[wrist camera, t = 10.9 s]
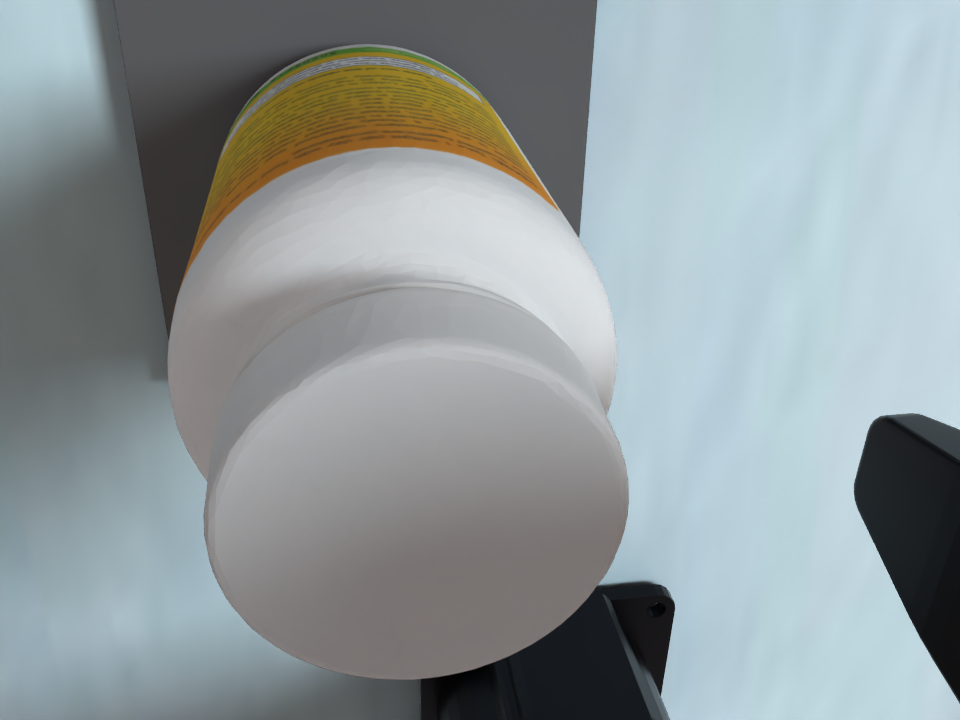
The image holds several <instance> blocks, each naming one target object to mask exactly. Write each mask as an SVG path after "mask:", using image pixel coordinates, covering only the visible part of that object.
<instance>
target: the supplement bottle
mask: <svg viewBox="0 0 960 720" xmlns="http://www.w3.org/2000/svg"><path fill="white" fill-rule="evenodd" d="M616 367H617V344H616V332H615V326H614V321H613V316H612V312H611V308H610V305H609V301H608V298H607V294H606V291H605V288H604V285H603V283H602V281H601V279H600V276H599V274H598V272H597V269H596V267H595V265H594V264H593V262H592V260H591V258H590V256H589V254H588V253H587V251H586V249H585V247H584V245H583V244H582V242H581V241H580V239H579V238H578V236H577V235H576V233H575V231H574V230H573V228H572V227H571V225H570V224H569V222H568V221H567V219H566V218H565V216H564V215H563V213H562V212H561V210H560V209H559V207H558V206H557V204H556V203H555V201H554V200H553V198H552V197H551V195H550V194H549V192H548V191H547V189H546V187H545V186H544V184H543V183H542V181H541V180H540V178H539V177H538V175H537V174H536V172H535V171H534V169H533V168H532V166H531V164H530V163H529V161H528V160H527V158H526V157H525V155H524V154H523V152H522V151H521V149H520V148H519V146H518V144H517V143H516V141H515V140H514V138H513V137H512V135H511V133H510V132H509V130H508V129H507V128H506V126H505V125H504V123H503V122H502V120H501V118H500V117H499V116H498V114H497V113H496V112H495V110H494V109H493V108H492V106H491V105H490V104H489V103H488V101H487V100H486V99H485V98H484V97H483V96H482V94H481V93H480V92H479V91H478V90H477V89H476V88H475V87H474V86H472V85H471V84H470V83H469V82H468V81H467V80H466V79H464V78H463V77H462V76H460V75H459V74H458V73H456V72H455V71H453V70H452V69H450V68H449V67H447V66H445V65H443V64H442V63H440V62H438V61H436V60H434V59H432V58H430V57H427V56H425V55H422V54H419V53H417V52H414V51H411V50H407V49H404V48H399V47H395V46H388V45H378V44H355V45H348V46H341V47H336V48H331V49H327V50H324V51H320V52H318V53H315V54H312V55H309V56H307V57H305V58H302V59H300V60H298V61H296V62H294V63H293V64H291V65H289V66H287V67H285V68H284V69H282V70H281V71H279V72H278V73H276V74H275V75H274V76H273V77H271V78H270V79H269V80H268V81H267V82H265V83H264V84H263V85H262V86H261V87H260V88H259V89H258V90H257V91H256V92H255V93H254V95H253V96H252V97H251V98H250V99H249V100H248V102H247V103H246V104H245V106H244V108H243V109H242V111H241V112H240V114H239V115H238V117H237V118H236V120H235V122H234V124H233V126H232V127H231V129H230V132H229V134H228V136H227V139H226V141H225V144H224V146H223V149H222V152H221V155H220V157H219V161H218V165H217V169H216V172H215V176H214V179H213V183H212V186H211V190H210V193H209V196H208V199H207V203H206V206H205V210H204V213H203V216H202V220H201V223H200V226H199V230H198V233H197V236H196V240H195V243H194V247H193V250H192V253H191V256H190V259H189V262H188V265H187V268H186V271H185V274H184V278H183V281H182V284H181V287H180V290H179V293H178V296H177V300H176V305H175V309H174V313H173V320H172V325H171V331H170V338H169V347H168V383H169V391H170V398H171V404H172V408H173V412H174V416H175V420H176V423H177V427H178V430H179V432H180V435H181V437H182V439H183V442H184V444H185V446H186V448H187V450H188V452H189V454H190V455H191V457H192V459H193V460H194V462H195V464H196V465H197V467H198V469H199V470H200V472H201V473H202V475H203V476H204V478H205V479H206V481H207V491H206V500H205V508H204V536H205V541H206V546H207V551H208V556H209V560H210V564H211V567H212V570H213V573H214V575H215V577H216V579H217V582H218V584H219V586H220V587H221V589H222V591H223V593H224V595H225V597H226V599H227V600H228V601H229V603H230V604H231V606H232V607H233V608H234V609H235V610H236V612H237V613H238V614H239V615H240V616H241V617H242V618H243V619H244V621H245V622H246V623H247V624H248V625H249V626H250V627H251V628H252V629H253V630H255V631H256V632H257V633H258V634H260V635H261V636H262V637H263V638H265V639H266V640H268V641H269V642H270V643H272V644H273V645H274V646H276V647H278V648H279V649H281V650H283V651H284V652H286V653H288V654H290V655H291V656H293V657H296V658H298V659H301V660H303V661H305V662H308V663H310V664H313V665H315V666H318V667H320V668H324V669H328V670H331V671H335V672H339V673H343V674H347V675H353V676H360V677H367V678H375V679H393V680H413V679H424V678H433V677H440V676H446V675H451V674H456V673H461V672H465V671H469V670H473V669H476V668H479V667H482V666H484V665H487V664H490V663H493V662H496V661H498V660H501V659H503V658H506V657H508V656H510V655H512V654H514V653H516V652H518V651H520V650H522V649H524V648H526V647H528V646H530V645H532V644H533V643H535V642H536V641H538V640H539V639H541V638H543V637H544V636H546V635H547V634H549V633H550V632H551V631H553V630H554V629H555V628H557V627H558V626H559V625H561V624H562V623H563V622H564V621H565V620H566V619H568V618H569V617H570V616H571V615H572V614H573V613H574V612H575V611H576V610H577V609H578V608H579V607H580V606H581V605H582V604H583V603H584V602H585V601H586V600H587V598H588V597H589V596H590V595H591V593H592V592H593V591H594V589H595V588H596V587H597V585H598V584H599V582H600V581H601V580H602V578H603V577H604V576H605V574H606V573H607V571H608V569H609V567H610V566H611V564H612V562H613V559H614V557H615V555H616V552H617V550H618V548H619V545H620V543H621V540H622V536H623V533H624V529H625V524H626V520H627V514H628V504H629V495H628V477H627V470H626V464H625V460H624V457H623V454H622V451H621V447H620V444H619V441H618V439H617V437H616V435H615V433H614V430H613V428H612V426H611V424H610V422H609V420H608V418H607V413H608V411H609V407H610V403H611V399H612V396H613V390H614V385H615V379H616Z"/></svg>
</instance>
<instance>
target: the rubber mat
mask: <svg viewBox="0 0 960 720" xmlns="http://www.w3.org/2000/svg"><path fill="white" fill-rule="evenodd" d="M114 4H115V11H116V17H117V23H118V29H119V36H120V42H121V48H122V54H123V60H124V67H125V73H126V79H127V85H128V91H129V98H130V104H131V110H132V116H133V123H134V129H135V135H136V141H137V147H138V154H139V160H140V166H141V172H142V178H143V185H144V191H145V197H146V203H147V210H148V216H149V222H150V228H151V234H152V241H153V247H154V253H155V259H156V265H157V272H158V278H159V284H160V290H161V297H162V303H163V309H164V315H165V321H166V328H167V334H168V340H169V338H170V331H171V325H172V320H173V313H174V309H175V305H176V300H177V296H178V293H179V290H180V287H181V284H182V281H183V278H184V274H185V271H186V268H187V265H188V262H189V259H190V256H191V253H192V250H193V247H194V243H195V240H196V236H197V233H198V230H199V226H200V223H201V220H202V216H203V213H204V210H205V206H206V203H207V199H208V196H209V193H210V190H211V186H212V183H213V179H214V176H215V172H216V169H217V165H218V161H219V157H220V155H221V152H222V149H223V146H224V144H225V141H226V139H227V136H228V134H229V132H230V129H231V127H232V126H233V124H234V122H235V120H236V118H237V117H238V115H239V114H240V112H241V111H242V109H243V108H244V106H245V104H246V103H247V102H248V100H249V99H250V98H251V97H252V96H253V95H254V93H255V92H256V91H257V90H258V89H259V88H260V87H261V86H262V85H263V84H264V83H265V82H267V81H268V80H269V79H270V78H271V77H273V76H274V75H275V74H276V73H278V72H279V71H281V70H282V69H284V68H285V67H287V66H289V65H291V64H293V63H294V62H296V61H298V60H300V59H302V58H305V57H307V56H309V55H312V54H315V53H318V52H320V51H324V50H327V49H331V48H336V47H341V46H348V45H355V44H378V45H388V46H395V47H399V48H404V49H407V50H411V51H414V52H417V53H419V54H422V55H425V56H427V57H430V58H432V59H434V60H436V61H438V62H440V63H442V64H443V65H445V66H447V67H449V68H450V69H452V70H453V71H455V72H456V73H458V74H459V75H460V76H462V77H463V78H464V79H466V80H467V81H468V82H469V83H470V84H471V85H472V86H474V87H475V88H476V89H477V90H478V91H479V92H480V93H481V94H482V96H483V97H484V98H485V99H486V100H487V101H488V103H489V104H490V105H491V106H492V108H493V109H494V110H495V112H496V113H497V114H498V116H499V117H500V118H501V120H502V122H503V123H504V125H505V126H506V128H507V129H508V130H509V132H510V133H511V135H512V137H513V138H514V140H515V141H516V143H517V144H518V146H519V148H520V149H521V151H522V152H523V154H524V155H525V157H526V158H527V160H528V161H529V163H530V164H531V166H532V168H533V169H534V171H535V172H536V174H537V175H538V177H539V178H540V180H541V181H542V183H543V184H544V186H545V187H546V189H547V191H548V192H549V194H550V195H551V197H552V198H553V200H554V201H555V203H556V204H557V206H558V207H559V209H560V210H561V212H562V213H563V215H564V216H565V218H566V219H567V221H568V222H569V224H570V225H571V227H572V228H573V230H574V231H575V233H576V235H577V236H578V238H579V234H580V220H581V207H582V194H583V181H584V168H585V154H586V141H587V128H588V115H589V102H590V88H591V75H592V62H593V49H594V35H595V22H596V9H597V0H114Z"/></svg>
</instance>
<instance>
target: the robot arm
mask: <svg viewBox="0 0 960 720" xmlns="http://www.w3.org/2000/svg"><path fill="white" fill-rule="evenodd" d="M854 497H855V502H856V505H857V508H858V511H859V513H860V515H861V517H862V519H863V521H864V523H865V525H866V527H867V529H868V531H869V534H870V536H871V538H872V540H873V542H874V544H875V546H876V548H877V550H878V552H879V554H880V557H881V559H882V561H883V563H884V565H885V567H886V569H887V571H888V573H889V575H890V577H891V580H892V582H893V584H894V586H895V588H896V590H897V592H898V594H899V596H900V598H901V600H902V602H903V605H904V607H905V609H906V611H907V613H908V615H909V617H910V619H911V621H912V623H913V625H914V627H915V629H916V630H917V632H918V634H919V636H920V638H921V640H922V642H923V643H924V645H925V647H926V648H927V650H928V652H929V654H930V655H931V657H932V659H933V660H934V662H935V664H936V665H937V667H938V669H939V670H940V672H941V674H942V675H943V677H944V678H945V680H946V682H947V683H948V685H949V687H950V688H951V690H952V691H953V693H954V695H955V696H956V698H957V700H958V701H959V703H960V430H959V429H956V428H954V427H951V426H949V425H946V424H944V423H941V422H939V421H936V420H934V419H931V418H929V417H926V416H924V415H920V414H914V413H910V414H897V415H885V416H880V417H878V418H877V419H875V420H874V421H873V423H872V424H871V425H870V428H869V430H868V434H867V437H866V441H865V445H864V449H863V452H862V456H861V460H860V463H859V467H858V471H857V475H856V478H855V483H854ZM654 603H657V604H656V605H654V606H651V607H649V606H650V605H652V604H654ZM674 611H675V603H674V601H673V599H672V597H671V595H670V593H669V591H668V590H667V588H666V587H664V586H662V585H654V584H653V585H642V586H632V587H622V588H612V589H602V590H594V591H593V592H592V593H591V595H590V596H589V597H588V598H587V600H586V601H585V602H584V603H583V604H582V605H581V606H580V607H579V608H578V609H577V610H576V611H575V612H574V613H573V614H572V615H571V616H570V617H569V618H568V619H566V620H565V621H564V622H563V623H562V624H561V625H559V626H558V627H557V628H555V629H554V630H553V631H551V632H550V633H549V634H547V635H546V636H544V637H543V638H541V639H539V640H538V641H536V642H535V643H533V644H532V645H530V646H528V647H526V648H524V649H522V650H520V651H518V652H516V653H514V654H512V655H510V656H508V657H506V658H503V659H501V660H498V661H496V662H493V663H490V664H487V665H484V666H482V667H479V668H476V669H473V670H469V671H465V672H461V673H456V674H451V675H446V676H440V677H433V678H424V679H419V693H420V720H670V718H669V716H668V713H667V711H666V708H665V706H664V704H663V701H662V699H661V692H662V685H663V679H664V673H665V667H666V661H667V655H668V648H669V642H670V636H671V630H672V624H673V617H674Z"/></svg>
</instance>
